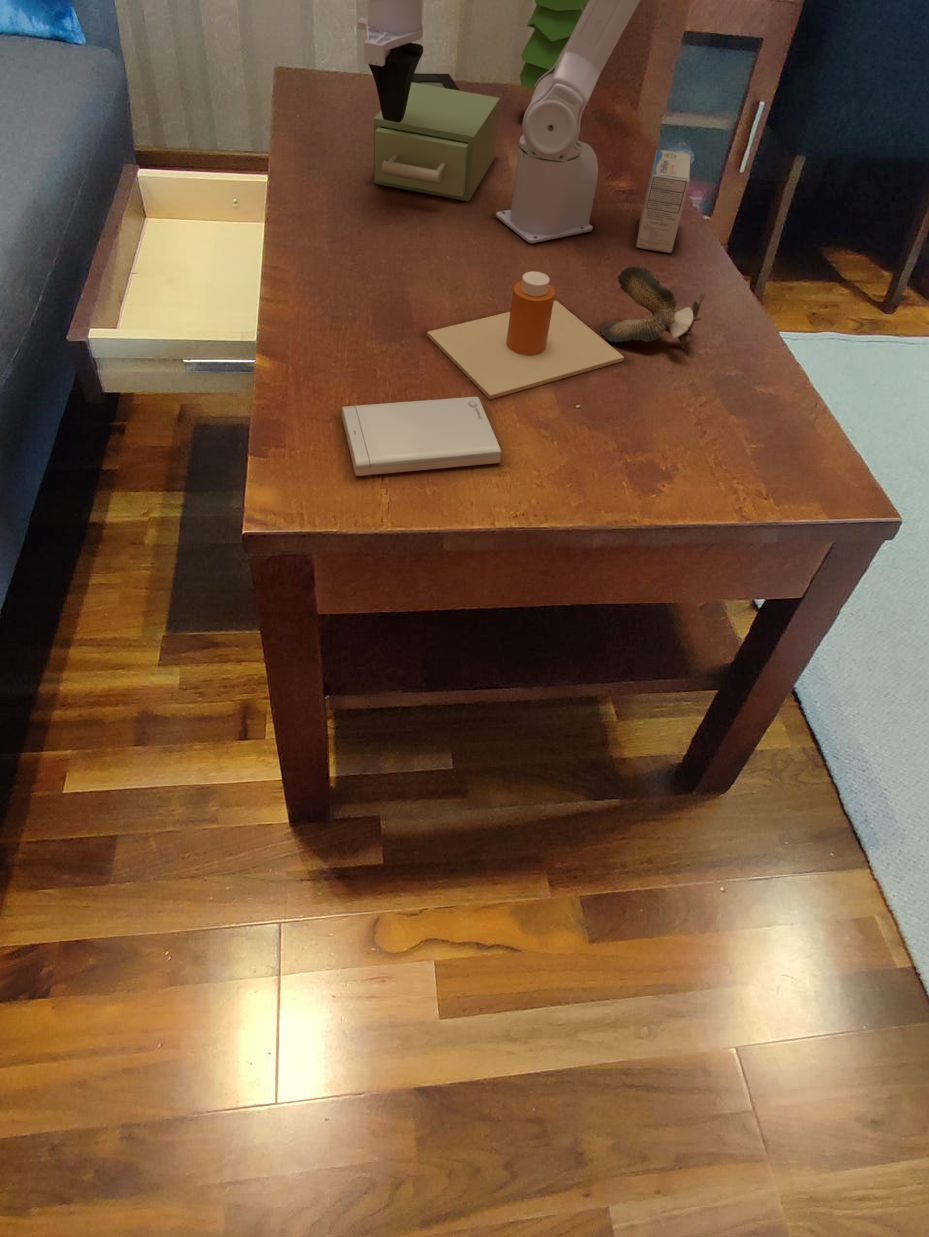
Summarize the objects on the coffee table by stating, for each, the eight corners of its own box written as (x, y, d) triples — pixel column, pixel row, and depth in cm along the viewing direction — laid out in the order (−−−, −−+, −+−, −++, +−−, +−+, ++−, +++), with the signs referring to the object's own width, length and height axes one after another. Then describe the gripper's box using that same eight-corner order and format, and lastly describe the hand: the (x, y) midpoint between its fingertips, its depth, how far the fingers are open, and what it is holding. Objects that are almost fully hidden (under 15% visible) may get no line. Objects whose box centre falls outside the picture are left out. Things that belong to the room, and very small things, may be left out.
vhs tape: (447, 87, 132) (448, 73, 130) (469, 122, 123) (471, 107, 122) (401, 87, 130) (401, 73, 129) (420, 122, 121) (420, 107, 120)
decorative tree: (501, 119, 125) (529, -151, 102) (535, 104, 130) (569, -155, 108) (555, 138, 122) (596, -136, 99) (588, 123, 127) (634, -141, 104)
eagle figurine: (691, 311, 89) (612, 282, 89) (717, 278, 82) (633, 245, 82) (670, 375, 88) (591, 346, 88) (696, 347, 81) (610, 314, 81)
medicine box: (671, 255, 100) (691, 179, 94) (634, 248, 100) (652, 173, 94) (673, 227, 105) (693, 153, 99) (638, 221, 106) (655, 147, 99)
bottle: (531, 330, 85) (541, 264, 80) (553, 350, 83) (565, 283, 78) (498, 338, 84) (506, 272, 79) (520, 359, 82) (530, 291, 76)
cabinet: (468, 201, 105) (474, 136, 100) (373, 183, 107) (373, 118, 101) (494, 159, 115) (500, 97, 109) (406, 143, 116) (408, 81, 110)
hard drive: (478, 394, 75) (341, 403, 73) (502, 450, 70) (355, 462, 68) (476, 409, 77) (341, 419, 74) (499, 465, 72) (356, 478, 69)
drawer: (453, 211, 101) (457, 160, 97) (364, 194, 102) (363, 143, 98) (486, 157, 113) (491, 110, 108) (406, 142, 114) (407, 95, 109)
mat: (555, 304, 90) (556, 300, 90) (623, 361, 84) (624, 356, 84) (427, 335, 84) (427, 331, 84) (489, 399, 78) (490, 395, 77)
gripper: (379, -47, 91) (379, 93, 101) (334, -16, 82) (339, 134, 92) (441, -37, 90) (435, 103, 101) (403, -5, 81) (400, 146, 91)
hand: (393, 119), depth 96 cm, fingers closed
